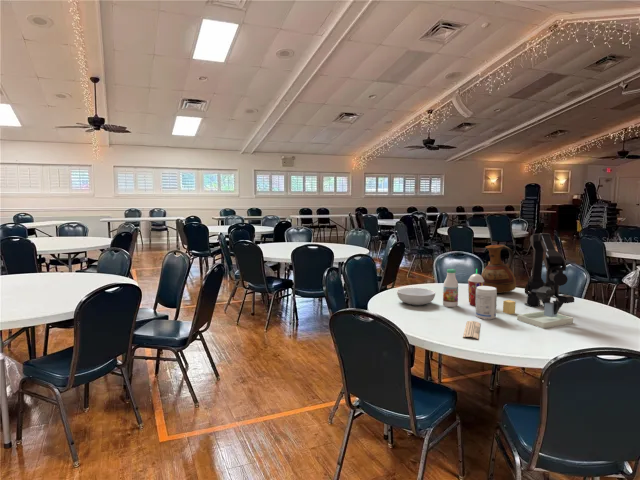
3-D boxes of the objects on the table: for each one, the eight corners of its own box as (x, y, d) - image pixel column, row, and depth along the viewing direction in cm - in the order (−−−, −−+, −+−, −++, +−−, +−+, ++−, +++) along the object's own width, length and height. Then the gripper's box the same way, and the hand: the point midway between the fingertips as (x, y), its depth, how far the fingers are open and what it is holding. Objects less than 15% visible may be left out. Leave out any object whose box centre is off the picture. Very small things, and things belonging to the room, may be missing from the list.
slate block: (549, 314, 198) (550, 302, 197) (557, 316, 194) (558, 304, 193) (543, 315, 196) (544, 302, 196) (551, 317, 192) (552, 304, 192)
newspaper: (466, 324, 192) (466, 320, 192) (482, 325, 190) (482, 322, 189) (462, 339, 171) (462, 335, 171) (480, 342, 168) (481, 337, 168)
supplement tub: (484, 313, 208) (486, 285, 206) (500, 318, 199) (501, 288, 198) (470, 315, 203) (471, 286, 202) (486, 320, 195) (487, 290, 193)
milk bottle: (440, 304, 226) (441, 268, 224) (454, 303, 227) (455, 268, 225) (446, 307, 219) (447, 270, 217) (460, 307, 219) (461, 270, 217)
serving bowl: (431, 299, 237) (431, 287, 237) (438, 308, 217) (438, 296, 216) (395, 298, 240) (395, 286, 239) (398, 307, 219) (398, 295, 218)
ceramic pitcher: (476, 288, 266) (477, 242, 263) (507, 288, 265) (509, 242, 262) (487, 295, 246) (489, 246, 243) (521, 295, 245) (523, 246, 242)
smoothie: (484, 307, 220) (486, 270, 218) (468, 306, 221) (469, 269, 219) (481, 303, 228) (483, 267, 226) (466, 302, 230) (467, 267, 228)
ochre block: (508, 311, 212) (509, 299, 211) (515, 313, 208) (515, 301, 207) (502, 312, 210) (503, 300, 209) (509, 314, 206) (509, 302, 206)
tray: (546, 315, 204) (546, 310, 204) (573, 322, 191) (573, 317, 191) (517, 319, 196) (517, 314, 196) (543, 328, 183) (543, 322, 183)
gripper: (523, 278, 199) (522, 310, 200) (559, 286, 182) (557, 320, 183) (539, 277, 203) (538, 307, 205) (576, 284, 186) (574, 317, 188)
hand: (550, 313), depth 195 cm, fingers closed on slate block, 4 cm apart
